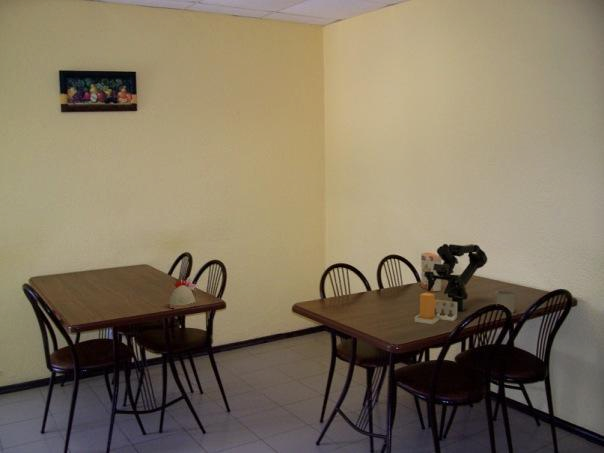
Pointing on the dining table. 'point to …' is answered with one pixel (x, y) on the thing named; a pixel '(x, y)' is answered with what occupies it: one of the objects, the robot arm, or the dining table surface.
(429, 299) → the cap
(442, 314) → the breaker bank
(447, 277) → the robot arm
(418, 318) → the frame
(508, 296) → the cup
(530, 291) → the dining table surface
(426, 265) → the cracker box
